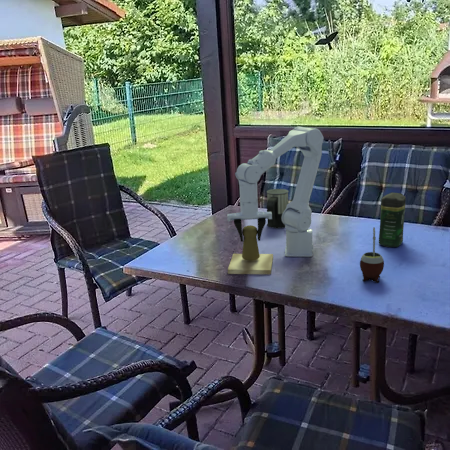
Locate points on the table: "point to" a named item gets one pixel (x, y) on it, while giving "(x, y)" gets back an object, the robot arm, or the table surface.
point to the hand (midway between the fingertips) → (250, 240)
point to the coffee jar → (392, 220)
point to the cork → (250, 243)
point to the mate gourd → (372, 264)
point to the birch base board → (251, 265)
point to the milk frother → (276, 206)
